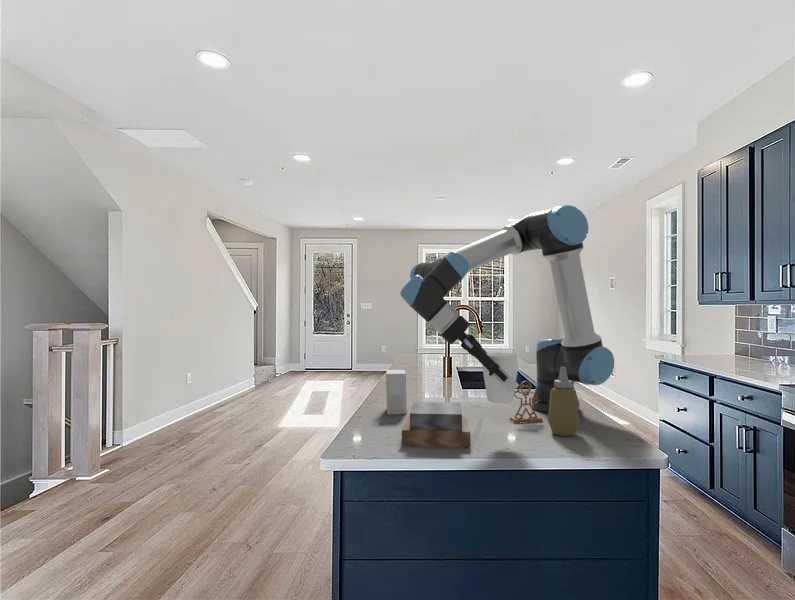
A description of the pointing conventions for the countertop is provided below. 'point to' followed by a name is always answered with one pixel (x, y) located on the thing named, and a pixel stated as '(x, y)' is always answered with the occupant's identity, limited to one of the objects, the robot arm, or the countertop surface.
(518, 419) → the gingerbread man figurine
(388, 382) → the small box
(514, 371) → the cup
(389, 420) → the countertop surface
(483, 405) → the countertop surface
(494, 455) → the countertop surface
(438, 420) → the stepped display pedestal
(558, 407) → the squeeze bottle
